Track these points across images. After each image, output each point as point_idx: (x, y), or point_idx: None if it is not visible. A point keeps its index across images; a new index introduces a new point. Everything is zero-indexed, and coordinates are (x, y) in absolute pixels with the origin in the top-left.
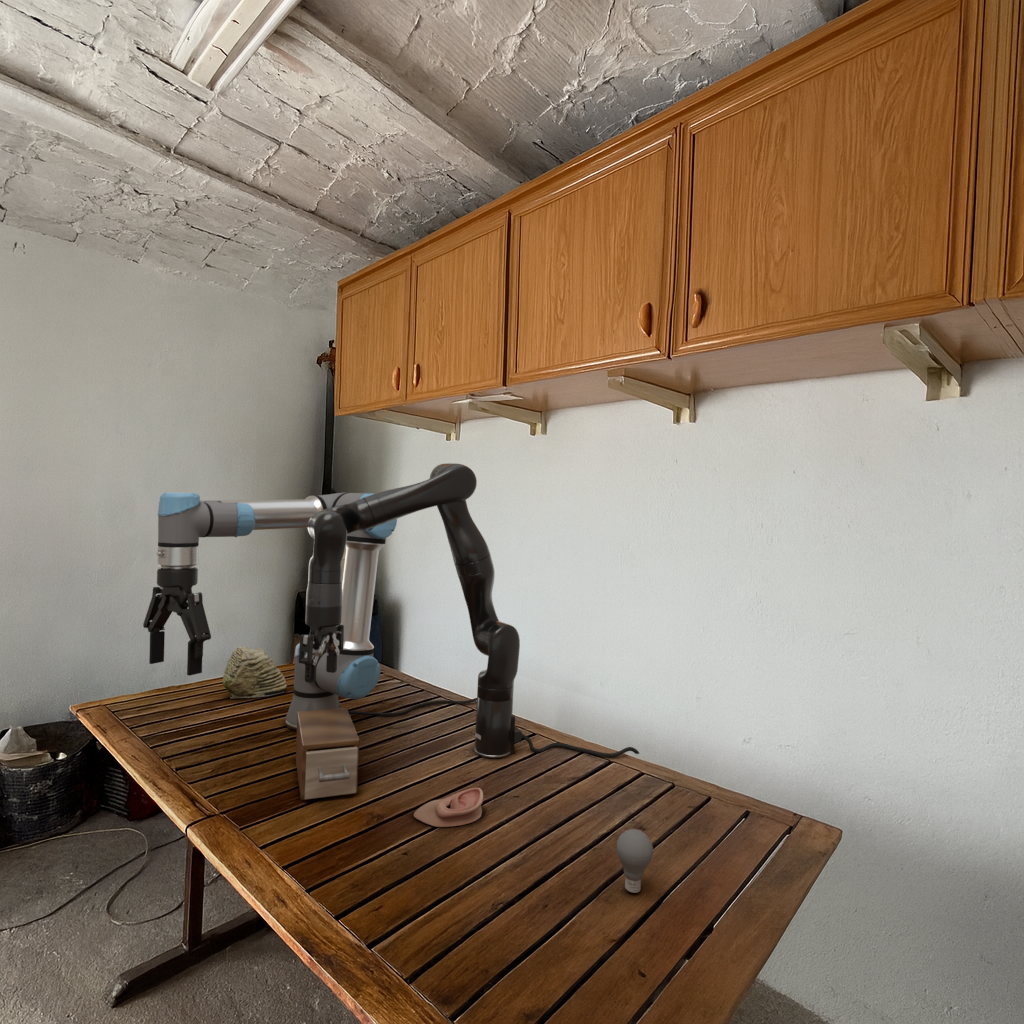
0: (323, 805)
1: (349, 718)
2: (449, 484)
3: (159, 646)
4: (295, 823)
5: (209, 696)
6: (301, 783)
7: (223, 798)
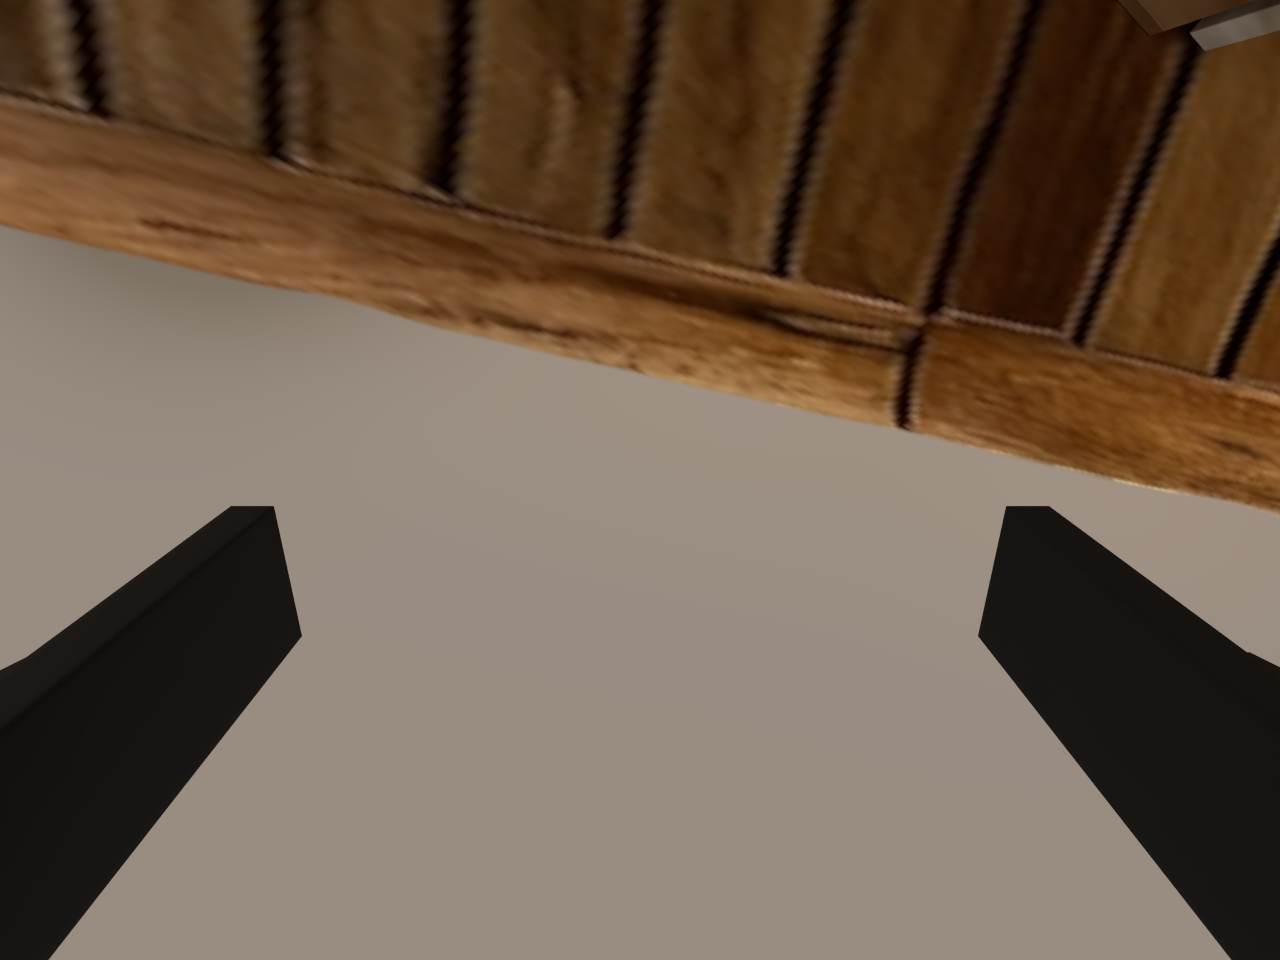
0: None
1: None
2: None
3: (161, 681)
4: (1241, 195)
5: None
6: (1203, 14)
7: (844, 235)
